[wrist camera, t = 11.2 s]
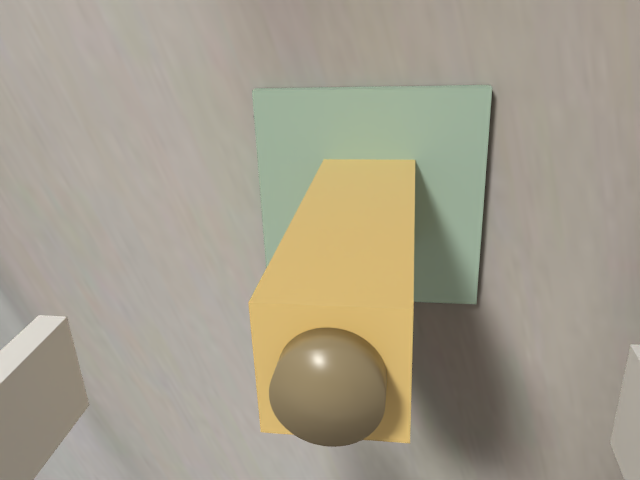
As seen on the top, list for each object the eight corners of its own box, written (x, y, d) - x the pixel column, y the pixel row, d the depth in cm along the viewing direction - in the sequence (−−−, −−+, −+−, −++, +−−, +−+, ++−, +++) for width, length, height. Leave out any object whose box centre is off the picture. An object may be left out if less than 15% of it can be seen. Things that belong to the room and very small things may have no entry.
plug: (323, 159, 27) (237, 323, 14) (415, 159, 26) (413, 332, 13) (326, 242, 28) (251, 458, 15) (413, 244, 28) (409, 472, 15)
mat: (255, 88, 26) (252, 90, 26) (490, 85, 25) (492, 87, 24) (271, 290, 30) (268, 296, 30) (474, 298, 29) (476, 304, 28)
